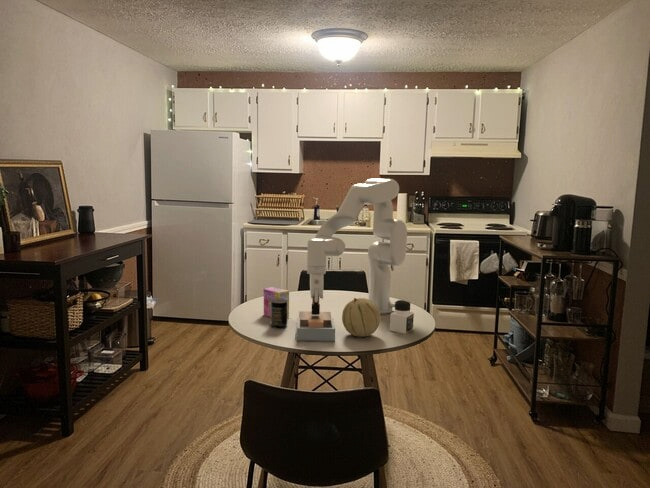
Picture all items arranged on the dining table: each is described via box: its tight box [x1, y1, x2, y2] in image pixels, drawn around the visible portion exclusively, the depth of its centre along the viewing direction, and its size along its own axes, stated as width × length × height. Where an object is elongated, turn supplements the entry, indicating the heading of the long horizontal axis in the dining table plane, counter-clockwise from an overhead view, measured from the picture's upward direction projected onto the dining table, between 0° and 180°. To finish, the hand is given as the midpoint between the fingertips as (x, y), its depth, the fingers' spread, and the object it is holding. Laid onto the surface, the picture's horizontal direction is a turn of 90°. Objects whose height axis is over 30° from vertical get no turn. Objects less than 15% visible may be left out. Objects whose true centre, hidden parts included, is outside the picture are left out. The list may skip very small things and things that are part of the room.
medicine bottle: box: [389, 299, 415, 335], centre depth 197 cm, size 7×7×12 cm
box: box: [263, 286, 290, 319], centre depth 212 cm, size 10×6×12 cm, turn 47°
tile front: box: [308, 319, 323, 328], centre depth 187 cm, size 6×6×3 cm
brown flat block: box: [298, 310, 333, 327], centre depth 201 cm, size 13×12×4 cm
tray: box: [296, 317, 336, 343], centre depth 188 cm, size 14×14×5 cm
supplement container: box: [270, 299, 288, 329], centre depth 198 cm, size 7×7×10 cm
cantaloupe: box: [341, 297, 382, 338], centre depth 188 cm, size 15×15×15 cm
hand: (315, 313), depth 200 cm, fingers closed
